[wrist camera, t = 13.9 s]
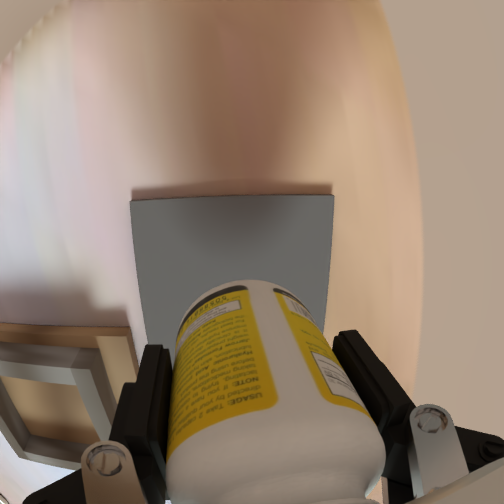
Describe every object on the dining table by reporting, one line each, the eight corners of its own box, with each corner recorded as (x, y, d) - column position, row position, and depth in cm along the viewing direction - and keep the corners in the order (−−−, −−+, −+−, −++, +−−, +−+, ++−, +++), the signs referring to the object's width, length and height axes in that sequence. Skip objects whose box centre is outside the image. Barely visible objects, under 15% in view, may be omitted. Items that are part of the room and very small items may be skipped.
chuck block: (18, 435, 19) (7, 458, 16) (-39, 319, 15) (-60, 339, 12) (164, 454, 20) (162, 484, 18) (130, 327, 17) (118, 358, 14)
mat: (155, 368, 18) (154, 372, 17) (131, 200, 15) (129, 201, 14) (317, 357, 19) (319, 361, 19) (331, 194, 16) (334, 195, 16)
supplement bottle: (172, 381, 13) (163, 604, 4) (185, 265, 11) (153, 565, 2) (292, 391, 14) (362, 584, 5) (327, 285, 12) (489, 495, 3)
